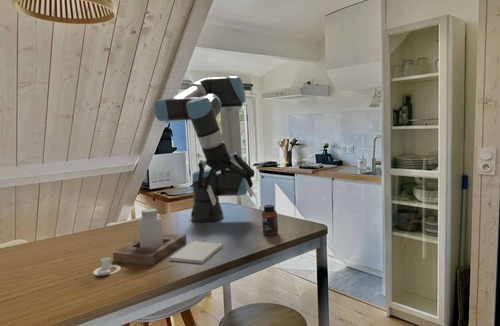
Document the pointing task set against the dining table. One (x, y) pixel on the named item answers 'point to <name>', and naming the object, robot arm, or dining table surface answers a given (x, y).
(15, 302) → the dining table surface
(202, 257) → the board
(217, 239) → the dining table surface
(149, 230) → the pill bottle
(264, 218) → the supplement bottle
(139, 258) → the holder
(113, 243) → the dining table surface
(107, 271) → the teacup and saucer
